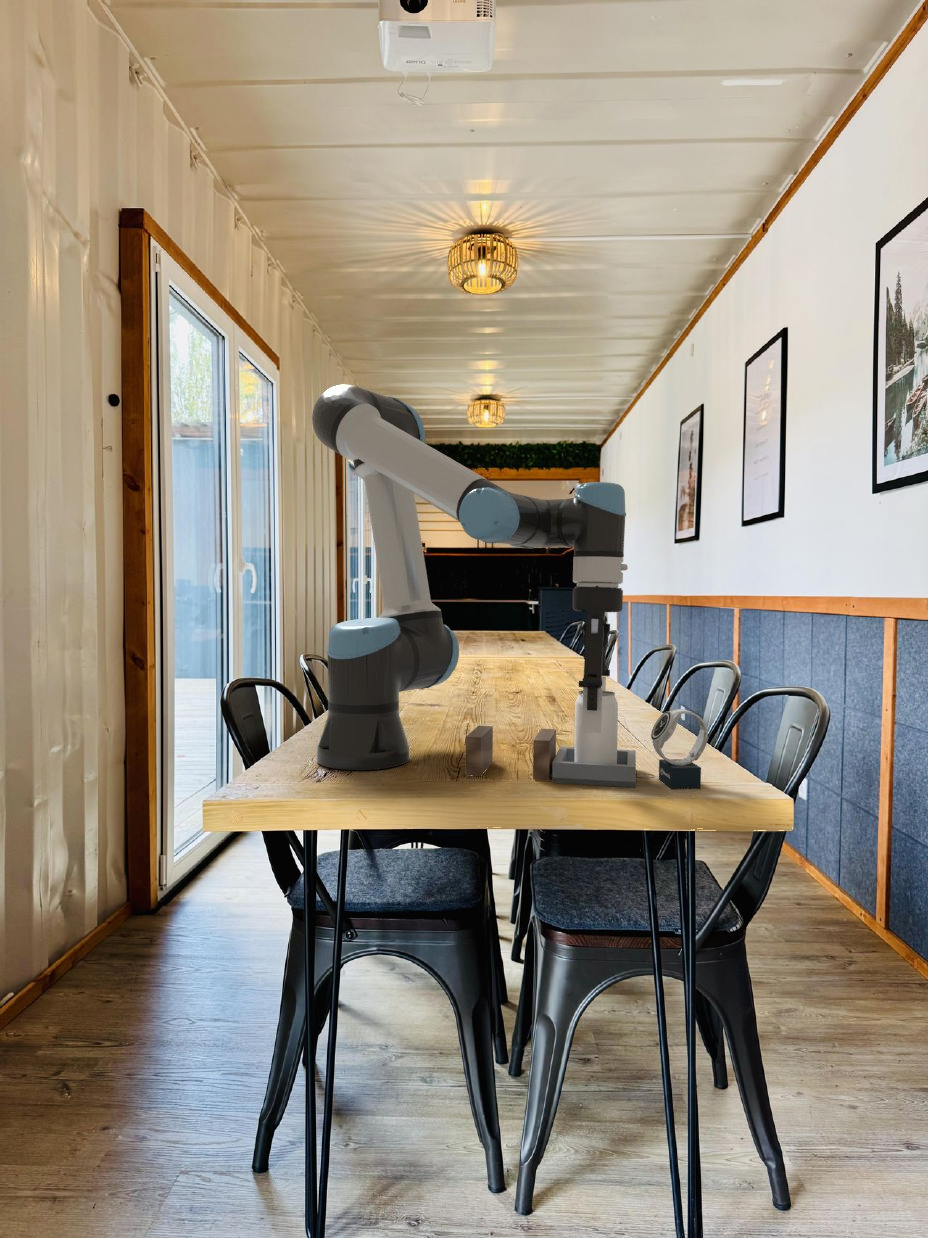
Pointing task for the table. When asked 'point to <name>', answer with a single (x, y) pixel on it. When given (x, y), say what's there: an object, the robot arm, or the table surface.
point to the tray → (594, 770)
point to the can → (597, 744)
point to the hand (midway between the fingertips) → (593, 724)
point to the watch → (678, 770)
